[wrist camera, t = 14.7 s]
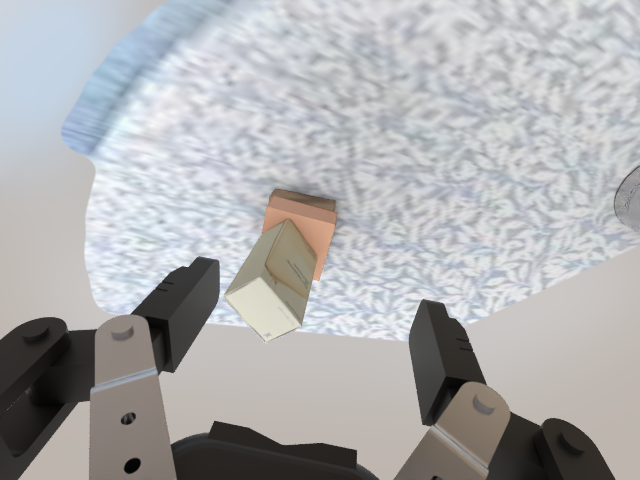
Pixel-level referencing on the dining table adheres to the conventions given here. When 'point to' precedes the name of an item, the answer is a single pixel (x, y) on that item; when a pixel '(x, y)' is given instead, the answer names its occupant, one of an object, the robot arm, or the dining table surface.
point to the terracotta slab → (304, 225)
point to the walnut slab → (304, 199)
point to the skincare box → (274, 283)
